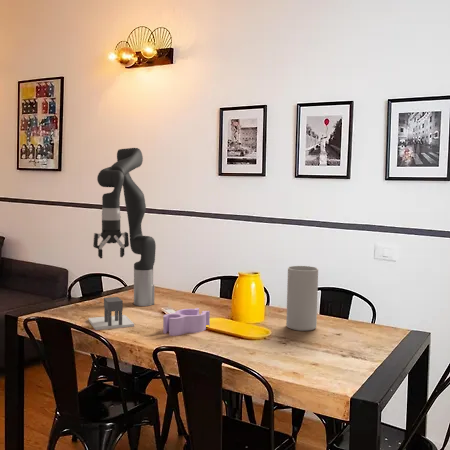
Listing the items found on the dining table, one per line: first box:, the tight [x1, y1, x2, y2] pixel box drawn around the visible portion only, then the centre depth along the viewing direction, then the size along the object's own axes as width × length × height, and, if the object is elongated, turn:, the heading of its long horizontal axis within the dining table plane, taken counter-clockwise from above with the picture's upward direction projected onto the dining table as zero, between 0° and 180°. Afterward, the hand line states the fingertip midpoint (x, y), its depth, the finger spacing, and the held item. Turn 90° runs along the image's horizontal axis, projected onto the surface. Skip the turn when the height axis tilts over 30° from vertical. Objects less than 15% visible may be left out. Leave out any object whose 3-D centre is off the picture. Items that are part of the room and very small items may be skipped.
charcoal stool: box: [103, 296, 124, 326], centre depth 235 cm, size 6×10×8 cm
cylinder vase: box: [285, 265, 319, 332], centre depth 236 cm, size 12×12×25 cm
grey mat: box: [87, 314, 135, 331], centre depth 239 cm, size 16×16×1 cm
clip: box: [162, 307, 211, 337], centre depth 231 cm, size 20×12×7 cm, turn 135°
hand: (111, 257), depth 235 cm, fingers open, 8 cm apart
